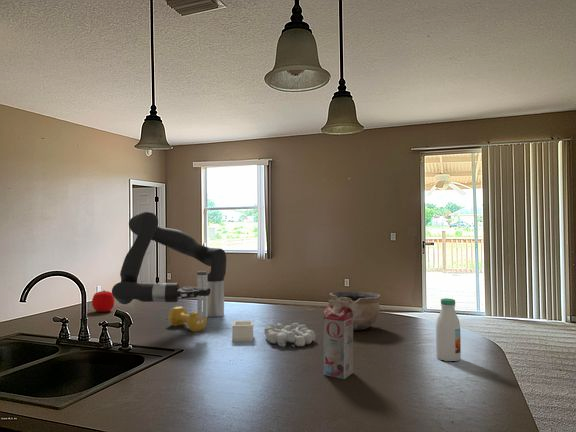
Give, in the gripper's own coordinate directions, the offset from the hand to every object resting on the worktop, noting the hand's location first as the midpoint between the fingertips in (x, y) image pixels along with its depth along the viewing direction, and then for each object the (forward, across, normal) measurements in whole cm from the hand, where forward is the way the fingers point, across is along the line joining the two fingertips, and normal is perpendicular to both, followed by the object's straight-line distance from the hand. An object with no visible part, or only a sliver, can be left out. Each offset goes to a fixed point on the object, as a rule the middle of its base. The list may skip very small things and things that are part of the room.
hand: (209, 292), depth 171 cm
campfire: (+31, -5, +19) cm, 37 cm away
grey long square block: (-3, 0, +10) cm, 10 cm away
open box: (+13, -2, +18) cm, 23 cm away
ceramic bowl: (+61, +12, +19) cm, 65 cm away
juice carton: (+44, -44, +18) cm, 65 cm away
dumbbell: (-12, +17, +19) cm, 28 cm away
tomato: (-61, +55, +19) cm, 84 cm away
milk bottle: (+83, -32, +18) cm, 91 cm away
